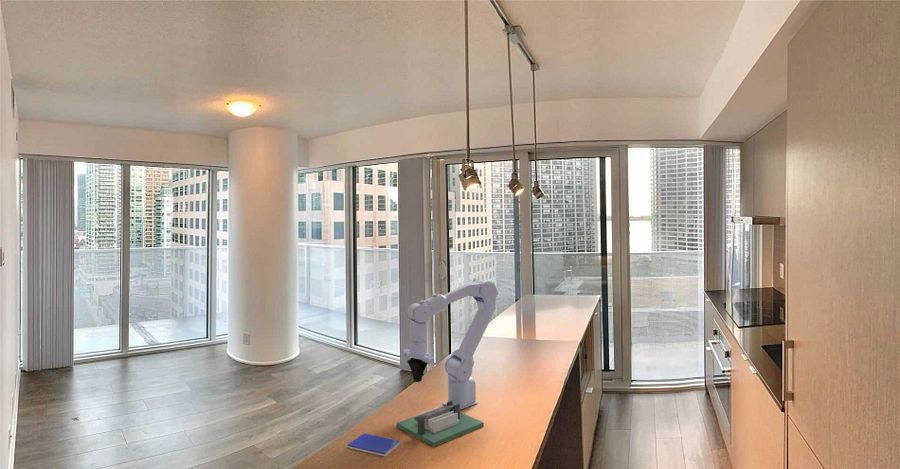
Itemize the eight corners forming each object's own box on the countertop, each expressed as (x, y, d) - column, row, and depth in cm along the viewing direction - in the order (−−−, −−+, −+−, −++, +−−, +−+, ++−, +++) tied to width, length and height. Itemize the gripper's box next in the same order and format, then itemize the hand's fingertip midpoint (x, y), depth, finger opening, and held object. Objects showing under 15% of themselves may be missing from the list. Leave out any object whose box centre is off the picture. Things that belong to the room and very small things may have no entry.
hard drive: (400, 440, 136) (364, 432, 141) (385, 452, 128) (347, 444, 133) (400, 445, 136) (364, 437, 141) (385, 458, 128) (347, 449, 133)
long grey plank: (452, 406, 151) (452, 403, 151) (456, 408, 150) (456, 405, 150) (413, 420, 141) (413, 417, 141) (417, 422, 140) (417, 419, 140)
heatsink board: (445, 409, 160) (445, 391, 160) (483, 426, 147) (483, 406, 147) (396, 426, 147) (396, 407, 147) (433, 446, 133) (433, 425, 133)
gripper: (395, 338, 160) (395, 378, 160) (422, 346, 149) (421, 389, 149) (412, 335, 165) (411, 374, 165) (439, 342, 154) (439, 384, 154)
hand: (417, 381), depth 157 cm, fingers closed
